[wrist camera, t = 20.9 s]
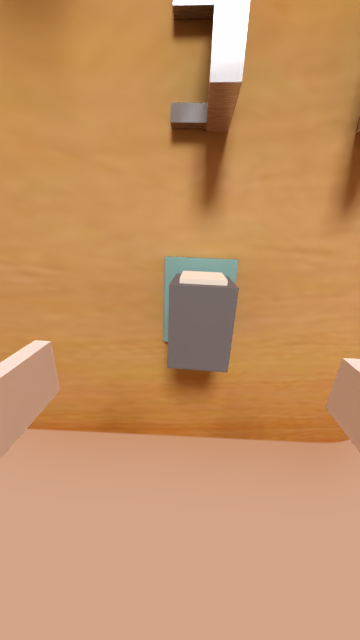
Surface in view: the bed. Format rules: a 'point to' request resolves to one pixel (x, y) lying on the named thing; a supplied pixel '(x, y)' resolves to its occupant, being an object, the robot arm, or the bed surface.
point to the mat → (194, 264)
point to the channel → (217, 63)
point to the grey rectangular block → (201, 320)
